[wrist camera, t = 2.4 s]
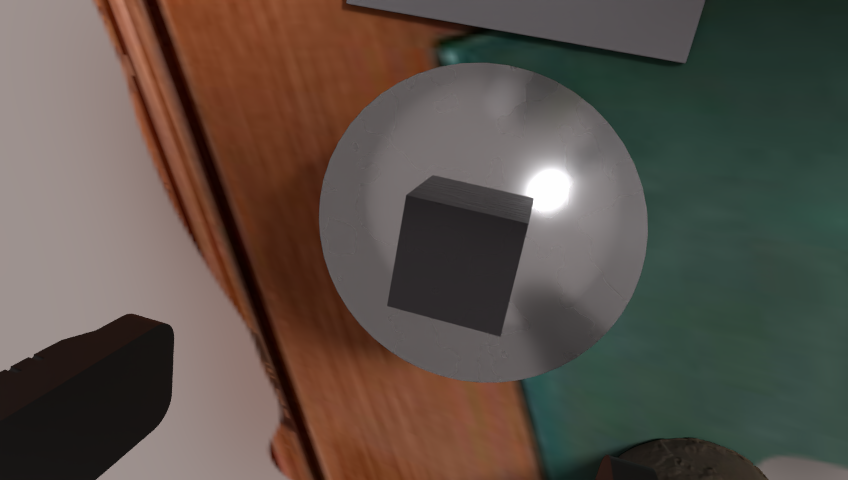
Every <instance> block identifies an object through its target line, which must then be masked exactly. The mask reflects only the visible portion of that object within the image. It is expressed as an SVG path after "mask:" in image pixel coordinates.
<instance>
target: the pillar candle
mask: <svg viewBox="0 0 848 480" xmlns="http://www.w3.org/2000/svg"><path fill="white" fill-rule="evenodd" d="M618 458H620V459H623V460H626V461H630V462H633V463H637V464H640V465H643V466H647V467H650V468H653V469H654V470H655V471H656V474H657V478H658V480H768V479H767V477H766V476H765V475H764V474H763V473H762V471H761V470H760V469H759V468H758V467H756V466H753V463H751V461H749V460H748V459H746V458H745V457H743V456H742V455H740V454H738V453H737V452H735V451H733V450H730V449H727V448H725V447H722V446H720V445H717V444H715V443H712V442H709V441H704V440H700V439H697V438H694V439H693V438H685V439H684V438H675V439H661V440H656V441H652V442H649V443H645V444H642V445H639V446H636V447H634V448H632V449H630V450H628V451H626V452H625V453H623V454H622V455H620V456H619V457H618Z"/></svg>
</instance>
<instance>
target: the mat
mask: <svg viewBox="0 0 848 480" xmlns="http://www.w3.org/2000/svg"><path fill="white" fill-rule="evenodd" d="M704 3H705V0H347V4H350V5H356V6H362V7H367V8H373V9H379V10H384V11H390V12H396V13H401V14H407V15H413V16H418V17H424V18H430V19H435V20H441V21H447V22H452V23H458V24H464V25H469V26H475V27H481V28H486V29H492V30H498V31H503V32H509V33H515V34H520V35H526V36H532V37H537V38H543V39H549V40H554V41H560V42H566V43H571V44H577V45H583V46H588V47H594V48H600V49H605V50H611V51H617V52H622V53H628V54H634V55H640V56H645V57H651V58H657V59H662V60H668V61H674V62H679V63H686V61H687V57H688V54H689V51H690V48H691V45H692V41H693V38H694V35H695V32H696V29H697V25H698V22H699V19H700V16H701V13H702V9H703V6H704Z"/></svg>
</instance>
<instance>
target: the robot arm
mask: <svg viewBox="0 0 848 480" xmlns="http://www.w3.org/2000/svg"><path fill="white" fill-rule="evenodd" d="M173 350H174V333H173V329H172V327H171V326H170V325H168V324H165V323H162V322H159V321H156V320H152V319H149V318H145V317H142V316H139V315H135V314H126V315H124V316H122V317H120V318H118V319H117V320H114V321H113V322H111V323H109V324H107V325H105V326H103V327H102V328H100V329H98V330H96V331H92V332H89V333H85V334H82V335H78V336H75V337H71V338H67V339H64V340H61V341H59V342H57V343H55V344H53V345H51V346H49V347H47V348H45V349H44V350H42V351H40V352H38V353H36V354H34V357H33V358H29V357H28V358H26V359H24V360H22V361H21V362H19V363H17V364H15V365H13V366H11V369H10V370H9V371H7V370H3V371H1V372H0V480H96V479H97V478H98V477H99V476H100V475H102V474H103V473H104V472H105V471H106V470H107V469H109V468H110V467H111V466H112V465H113V464H115V463H116V462H117V461H118V460H119V459H120V458H121V457H123V456H124V455H125V454H126V453H127V452H128V451H130V450H131V449H132V448H133V447H134V446H135V445H137V444H138V443H139V442H140V441H141V440H142V439H144V438H145V437H146V436H147V435H148V434H149V433H151V432H152V431H153V430H154V429H155V428H156V427H157V426H158V425H159V424H160V422H161V421H162V419H163V418H164V416H165V414H166V412H167V410H168V408H169V405H170V402H171V396H172V375H173V352H174V351H173ZM595 480H658V478H657V474H656V471H655V470H654V469H653V468H650V467H647V466H643V465H640V464H637V463H633V462H630V461H626V460H623V459H620V458H616V457H613V456H609V455H606V456H605V457H604V458H603V460H602V462H601V464H600V467H599V470H598V473H597V476H596V479H595Z"/></svg>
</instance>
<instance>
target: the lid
mask: <svg viewBox="0 0 848 480" xmlns="http://www.w3.org/2000/svg"><path fill="white" fill-rule="evenodd" d="M319 227H320V239H321V244H322V249H323V254H324V258H325V261H326V265H327V268H328V271H329V274H330V276H331V279H332V281H333V283H334V285H335V287H336V289H337V292H338V293H339V295H340V297H341V298H342V300H343V302H344V303H345V305H346V306H347V308H348V310H349V311H350V312H351V313H352V315H353V316H354V317H355V319H356V320H357V321H358V322H359V324H360V325H361V326H362V327H363V328H364V329H365V330H366V331H367V332H368V333H369V334H370V335H371V336H372V337H373V338H374V339H375V340H377V341H378V342H379V343H380V344H382V345H383V346H384V347H385V348H387V349H388V350H389V351H391V352H392V353H394V354H395V355H397V356H399V357H400V358H402V359H403V360H405V361H407V362H409V363H411V364H413V365H415V366H417V367H419V368H421V369H423V370H426V371H429V372H432V373H435V374H438V375H440V376H444V377H448V378H453V379H457V380H463V381H472V382H506V381H514V380H521V379H525V378H529V377H533V376H537V375H540V374H543V373H546V372H548V371H551V370H553V369H556V368H558V367H560V366H562V365H564V364H566V363H567V362H569V361H571V360H573V359H575V358H577V357H578V356H579V355H581V354H582V353H583V352H585V351H586V350H588V349H589V348H590V347H592V346H593V345H594V344H595V343H596V342H597V341H598V340H599V339H600V338H601V337H602V336H603V335H604V334H605V333H607V332H608V331H609V329H610V328H611V327H612V326H613V324H614V323H615V322H616V320H617V319H618V318H619V317H620V315H621V314H622V312H623V311H624V309H625V307H626V305H627V304H628V302H629V300H630V299H631V297H632V295H633V292H634V290H635V288H636V285H637V283H638V280H639V278H640V275H641V271H642V267H643V263H644V259H645V255H646V245H647V235H648V226H647V208H646V203H645V198H644V193H643V188H642V185H641V182H640V179H639V176H638V173H637V170H636V167H635V165H634V163H633V161H632V159H631V157H630V155H629V153H628V151H627V149H626V147H625V145H624V144H623V142H622V141H621V139H620V138H619V137H618V135H617V134H616V132H615V131H614V130H613V128H612V127H611V125H610V124H609V123H608V122H607V121H606V120H605V119H604V118H603V117H602V116H601V115H600V114H599V113H598V112H597V111H596V110H595V109H594V108H593V107H592V106H591V105H590V104H589V103H587V102H586V101H585V100H583V99H582V98H581V97H580V96H578V95H577V94H576V93H575V92H573V91H571V90H570V89H568V88H566V87H565V86H563V85H561V84H559V83H558V82H556V81H554V80H552V79H549V78H547V77H545V76H542V75H540V74H537V73H535V72H532V71H528V70H524V69H521V68H517V67H513V66H509V65H501V64H492V63H461V64H455V65H449V66H442V67H438V68H435V69H431V70H428V71H425V72H422V73H418V74H416V75H414V76H412V77H410V78H408V79H406V80H403V81H401V82H399V83H397V84H396V85H394V86H393V87H391V88H390V89H388V90H387V91H385V92H383V93H382V94H380V95H379V96H378V97H377V98H376V99H375V100H373V101H372V102H371V103H370V104H369V105H368V106H366V107H365V108H364V109H363V110H362V111H361V113H360V114H359V115H358V116H357V117H356V118H355V119H354V121H353V122H352V123H351V124H350V125H349V127H348V128H347V130H346V131H345V133H344V134H343V136H342V137H341V139H340V140H339V142H338V144H337V146H336V148H335V150H334V152H333V155H332V157H331V159H330V161H329V164H328V167H327V170H326V173H325V176H324V180H323V185H322V190H321V196H320V207H319Z"/></svg>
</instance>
